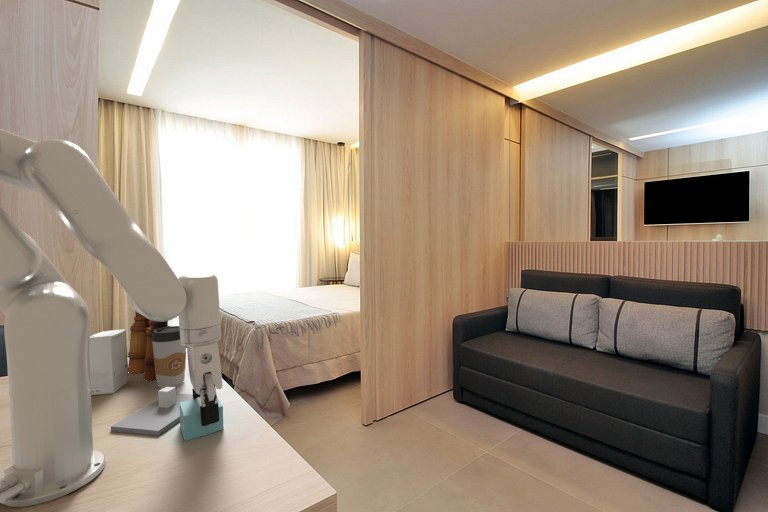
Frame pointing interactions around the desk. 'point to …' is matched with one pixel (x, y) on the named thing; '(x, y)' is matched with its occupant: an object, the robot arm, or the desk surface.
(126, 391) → the desk surface
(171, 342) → the coffee cup
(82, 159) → the robot arm
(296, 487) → the desk surface
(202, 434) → the teal box
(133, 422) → the board
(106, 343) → the skincare box
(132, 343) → the binoculars
